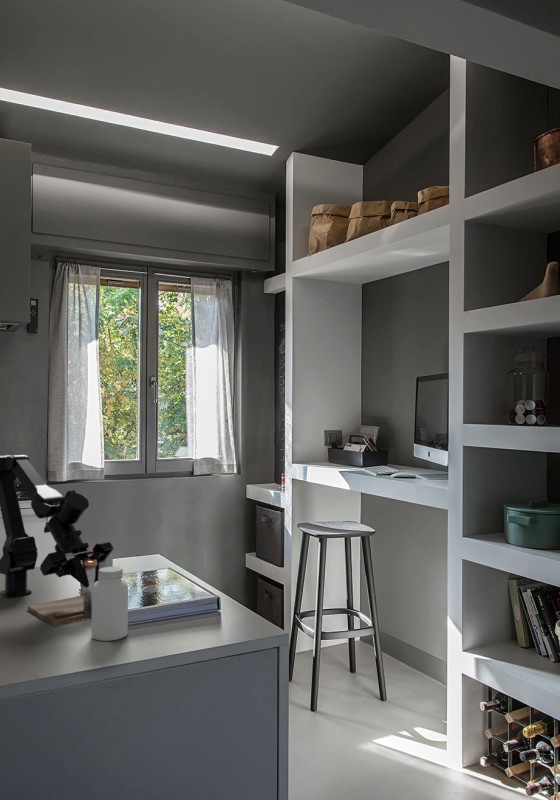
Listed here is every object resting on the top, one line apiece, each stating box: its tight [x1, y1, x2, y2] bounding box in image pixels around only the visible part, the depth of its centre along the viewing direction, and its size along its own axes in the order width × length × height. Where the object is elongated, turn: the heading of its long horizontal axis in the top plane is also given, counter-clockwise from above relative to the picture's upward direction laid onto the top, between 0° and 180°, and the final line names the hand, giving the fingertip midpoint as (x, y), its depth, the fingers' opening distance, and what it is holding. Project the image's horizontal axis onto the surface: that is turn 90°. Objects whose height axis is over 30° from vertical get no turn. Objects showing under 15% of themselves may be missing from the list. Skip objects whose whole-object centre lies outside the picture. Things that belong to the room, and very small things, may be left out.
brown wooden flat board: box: [27, 595, 92, 627], centre depth 166 cm, size 16×16×1 cm
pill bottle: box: [90, 566, 129, 642], centre depth 149 cm, size 8×8×15 cm
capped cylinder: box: [81, 560, 97, 614], centre depth 163 cm, size 4×4×13 cm
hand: (93, 585), depth 163 cm, fingers closed on capped cylinder, 3 cm apart
